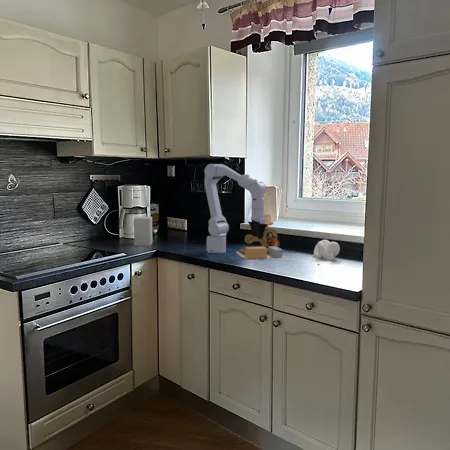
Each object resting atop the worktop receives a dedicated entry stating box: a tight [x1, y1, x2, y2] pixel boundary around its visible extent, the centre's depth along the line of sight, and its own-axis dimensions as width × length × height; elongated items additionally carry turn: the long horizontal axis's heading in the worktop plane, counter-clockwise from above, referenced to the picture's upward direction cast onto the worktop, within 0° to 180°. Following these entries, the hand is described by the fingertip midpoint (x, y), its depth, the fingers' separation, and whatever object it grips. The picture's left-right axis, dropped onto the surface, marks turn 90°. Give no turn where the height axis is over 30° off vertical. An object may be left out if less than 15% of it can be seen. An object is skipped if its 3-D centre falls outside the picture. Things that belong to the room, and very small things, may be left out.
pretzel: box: [313, 239, 341, 262], centre depth 199 cm, size 11×12×9 cm
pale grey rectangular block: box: [267, 246, 284, 257], centre depth 203 cm, size 4×9×4 cm, turn 14°
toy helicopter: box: [244, 222, 281, 248], centre depth 224 cm, size 8×21×14 cm, turn 123°
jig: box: [235, 248, 287, 260], centre depth 204 cm, size 20×17×2 cm
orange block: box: [244, 246, 268, 260], centre depth 198 cm, size 9×5×4 cm, turn 104°
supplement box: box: [133, 216, 153, 247], centre depth 231 cm, size 9×9×15 cm
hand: (257, 237), depth 197 cm, fingers open, 7 cm apart
